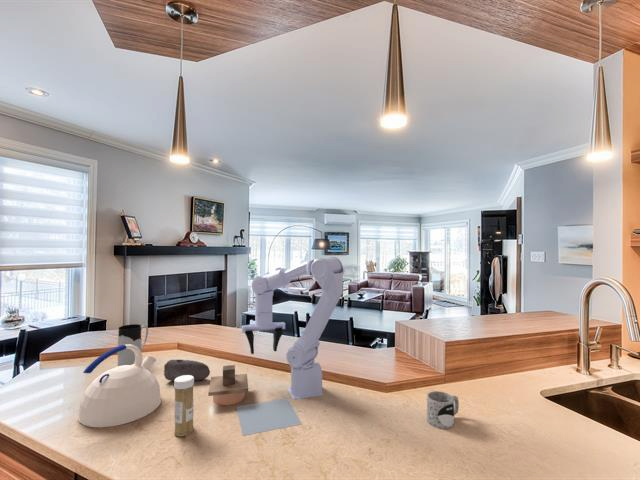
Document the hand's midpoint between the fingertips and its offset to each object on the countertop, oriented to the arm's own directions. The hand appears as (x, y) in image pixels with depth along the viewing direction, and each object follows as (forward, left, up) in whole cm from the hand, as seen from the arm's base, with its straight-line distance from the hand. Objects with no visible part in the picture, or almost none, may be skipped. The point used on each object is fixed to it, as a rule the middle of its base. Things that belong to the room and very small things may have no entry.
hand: (263, 351), depth 111 cm
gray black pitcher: (+44, -35, -11) cm, 57 cm away
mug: (-41, +40, -11) cm, 58 cm away
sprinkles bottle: (+24, +22, -11) cm, 34 cm away
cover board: (+12, +8, -6) cm, 16 cm away
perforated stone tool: (+24, -11, -11) cm, 29 cm away
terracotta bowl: (+12, +8, -10) cm, 18 cm away
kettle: (+41, +3, -11) cm, 43 cm away
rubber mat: (+3, +22, -10) cm, 25 cm away
